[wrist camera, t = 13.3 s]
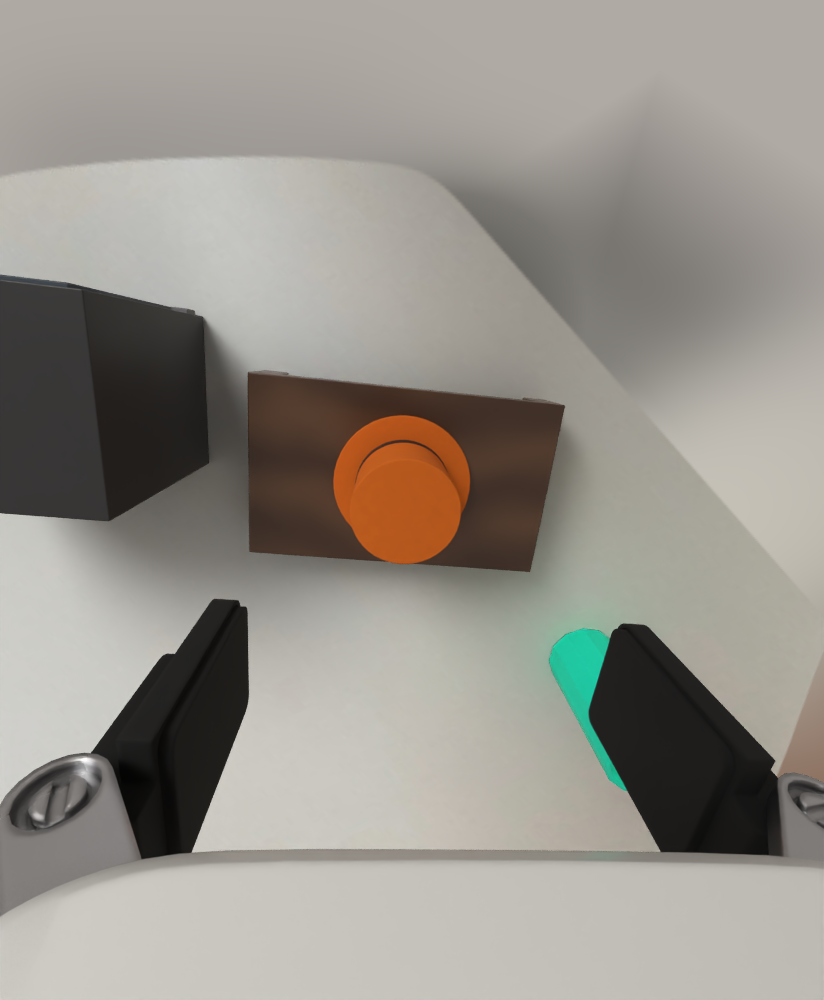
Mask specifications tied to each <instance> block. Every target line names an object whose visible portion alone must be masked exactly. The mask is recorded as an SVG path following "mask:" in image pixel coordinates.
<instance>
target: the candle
mask: <svg viewBox="0 0 824 1000" xmlns="http://www.w3.org/2000/svg"><path fill="white" fill-rule="evenodd" d="M609 641H610V639H609V638H608V637H607V636H605V635H604V634H603V633H602V632H600V631H598V630H590V629H580V630H577V631H574V632H571V633H568V634H566V635H565V636H564V637H563V638H562V639H560V640H559V641H558V642H557V643H556V644H555V645H554V646H553V649H552V652H551V655H550V658H549V663H550V666H551V669H552V672H553V675H554V677H555V679H556V680H557V682H558V684H559V686H560V688H561V690H562V692H563V694H564V696H565V697H566V699H567V701H568V703H569V705H570V707H571V709H572V711H573V713H574V714H575V716H576V718H577V720H578V722H579V724H580V726H581V728H582V730H583V731H584V733H585V735H586V737H587V739H588V741H589V743H590V745H591V747H592V748H593V750H594V752H595V754H596V756H597V758H598V760H599V762H600V764H601V765H602V767H603V769H604V771H605V773H606V775H607V777H608V779H609V780H610V781H611V782H613V783H614V784H616V785H617V786H618V787H620V788H621V789H623V790H624V791H627V789H626V787H625V786H624V784H623V782H622V780H621V778H620V776H619V775H618V773H617V771H616V769H615V767H614V766H613V764H612V762H611V760H610V758H609V756H608V755H607V753H606V751H605V749H604V747H603V746H602V744H601V742H600V740H599V738H598V737H597V735H596V733H595V731H594V729H593V727H592V726H591V723H590V720H589V715H588V714H589V706H590V703H591V700H592V697H593V693H594V690H595V687H596V683H597V680H598V677H599V674H600V670H601V667H602V664H603V661H604V657H605V654H606V651H607V647H608V644H609Z"/></svg>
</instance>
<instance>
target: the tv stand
mask: <svg viewBox="0 0 824 1000" xmlns="http://www.w3.org/2000/svg"><path fill="white" fill-rule="evenodd" d="M564 408H565V406H564V405H561V404H557V403H554V402H550V401H546V400H540V399H531V398H523V400H519V399H510V398H500V397H491V396H481V395H472V394H462V393H453V392H443V391H434V390H424V389H415V388H405V387H396V386H386V385H377V384H367V383H358V382H349V381H339V380H330V379H320V378H311V377H301V376H292V375H288V373H286V372H276V371H267V370H264V371H254V372H248V458H249V551H250V552H257V553H271V554H285V555H299V556H313V557H327V558H342V559H356V560H370V561H384V562H388V561H385V560H382V559H380V558H378V557H376V556H374V555H373V554H371V553H370V552H369V551H368V550H366V549H365V548H364V547H363V546H362V544H361V543H360V542H359V540H358V539H357V537H356V536H355V533H354V531H353V529H352V527H351V526H350V525H349V523H348V522H347V521H346V520H345V518H344V517H343V515H342V513H341V512H340V509H339V507H338V505H337V502H336V498H335V494H334V483H333V479H334V470H335V467H336V463H337V460H338V458H339V455H340V453H341V451H342V450H343V448H344V446H345V445H346V443H347V442H348V441H349V439H350V438H351V437H352V436H353V435H354V434H355V433H356V432H357V431H359V430H360V429H361V428H363V427H364V426H366V425H368V424H369V423H371V422H373V421H376V420H379V419H381V418H385V417H389V416H398V415H406V416H414V417H419V418H423V419H426V420H428V421H431V422H433V423H435V424H437V425H438V426H440V427H441V428H443V429H444V430H445V431H446V432H448V433H449V434H450V435H451V436H452V437H453V438H454V440H455V441H456V442H457V443H458V445H459V446H460V448H461V449H462V451H463V453H464V455H465V457H466V460H467V463H468V467H469V472H470V491H469V495H468V500H467V502H466V505H465V508H464V510H463V511H462V513H461V519H460V524H459V527H458V529H457V532H456V534H455V536H454V537H453V539H452V540H451V542H450V543H449V544H448V545H447V546H446V547H445V548H444V549H443V550H442V551H441V552H440V553H438V554H437V555H435V556H434V557H432V558H430V559H427V560H425V561H422V562H418V563H412V564H426V565H440V566H454V567H468V568H483V569H497V570H511V571H525V572H530V570H531V565H532V560H533V556H534V551H535V546H536V541H537V536H538V532H539V527H540V522H541V517H542V513H543V508H544V503H545V498H546V494H547V489H548V484H549V479H550V474H551V470H552V465H553V460H554V455H555V451H556V446H557V441H558V436H559V432H560V427H561V422H562V417H563V412H564Z"/></svg>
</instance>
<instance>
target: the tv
mask: <svg viewBox="0 0 824 1000" xmlns="http://www.w3.org/2000/svg"><path fill="white" fill-rule="evenodd" d="M208 463H209V455H208V429H207V404H206V378H205V353H204V327H203V317H202V316H197V315H195V311H194V310H190V309H185V308H176V307H168V306H163V305H159V304H154V303H150V302H146V301H142V300H138V299H134V298H129V297H125V296H121V295H117V294H113V293H108V292H104V291H100V290H96V289H92V288H87V287H83V286H79V285H75V284H71V283H66V282H57V281H49V280H40V279H32V278H24V277H15V276H7V275H0V513H4V514H18V515H31V516H45V517H58V518H71V519H85V520H98V521H111V520H112V519H114V518H116V517H117V516H119V515H121V514H123V513H124V512H126V511H128V510H129V509H131V508H133V507H135V506H136V505H138V504H140V503H141V502H143V501H145V500H147V499H148V498H150V497H152V496H153V495H155V494H157V493H158V492H160V491H162V490H164V489H165V488H167V487H169V486H170V485H172V484H174V483H176V482H177V481H179V480H181V479H182V478H184V477H186V476H188V475H189V474H191V473H193V472H194V471H196V470H198V469H200V468H201V467H203V466H205V465H206V464H208Z"/></svg>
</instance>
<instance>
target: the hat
mask: <svg viewBox="0 0 824 1000" xmlns="http://www.w3.org/2000/svg"><path fill="white" fill-rule="evenodd" d="M333 483H334V494H335V498H336V502H337V505H338V507H339V509H340V512H341V513H342V515H343V517H344V518H345V520H346V521H347V522H348V523H349V525H350V526H351V527H352V529H353V531H354V533H355V536H356V537H357V539H358V540H359V542H360V543H361V544H362V546H363V547H364V548H365V549H366V550H368V551H369V552H370V553H371V554H373V555H374V556H376V557H378V558H380V559H382V560H385V561H388V562H391V563H397V564H412V563H418V562H422V561H425V560H427V559H430V558H432V557H434V556H435V555H437V554H438V553H440V552H441V551H442V550H443V549H444V548H445V547H446V546H447V545H448V544H449V543H450V542H451V540H452V539H453V537H454V536H455V534H456V532H457V529H458V527H459V524H460V519H461V513H462V511H463V510H464V508H465V505H466V502H467V500H468V495H469V491H470V472H469V467H468V463H467V460H466V457H465V455H464V453H463V451H462V449H461V448H460V446H459V445H458V443H457V442H456V441H455V440H454V438H453V437H452V436H451V435H450V434H449V433H448V432H446V431H445V430H444V429H443V428H441V427H440V426H438V425H437V424H435V423H433V422H431V421H428V420H426V419H423V418H419V417H414V416H406V415H398V416H389V417H385V418H381V419H379V420H376V421H373V422H371V423H369V424H368V425H366V426H364V427H363V428H361V429H360V430H359V431H357V432H356V433H355V434H354V435H353V436H352V437H351V438H350V439H349V441H348V442H347V443H346V445H345V446H344V448H343V450H342V451H341V453H340V455H339V458H338V460H337V463H336V467H335V470H334V479H333Z"/></svg>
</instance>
